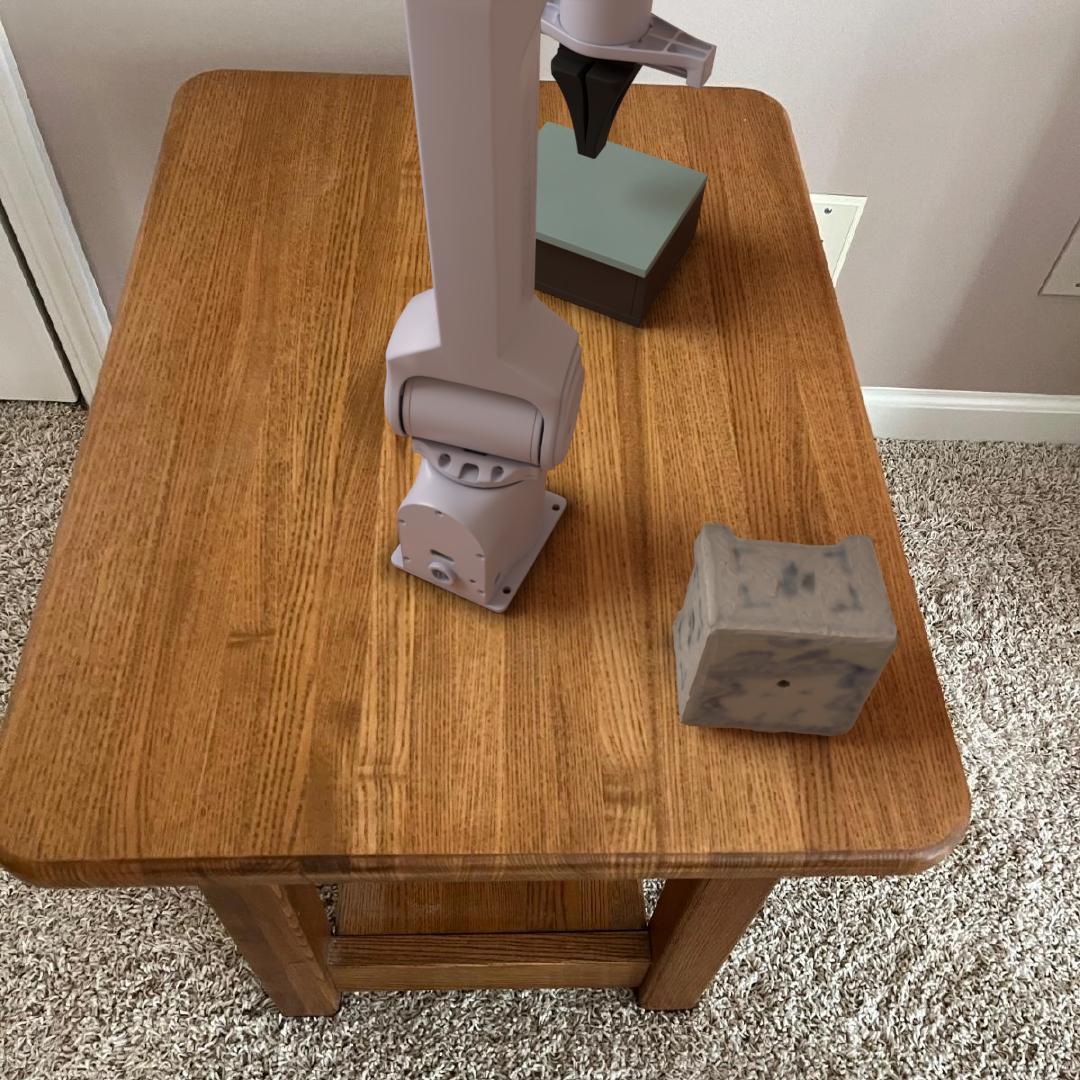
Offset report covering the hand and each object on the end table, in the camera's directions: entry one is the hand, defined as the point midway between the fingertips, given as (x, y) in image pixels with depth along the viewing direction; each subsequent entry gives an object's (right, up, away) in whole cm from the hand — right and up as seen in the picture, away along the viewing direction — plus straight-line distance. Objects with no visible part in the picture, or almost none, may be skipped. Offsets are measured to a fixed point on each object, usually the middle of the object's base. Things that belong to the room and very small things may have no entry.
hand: (591, 149), depth 69 cm
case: (0, -5, +9) cm, 10 cm away
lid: (0, -2, +4) cm, 4 cm away
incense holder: (+9, -36, -11) cm, 38 cm away
